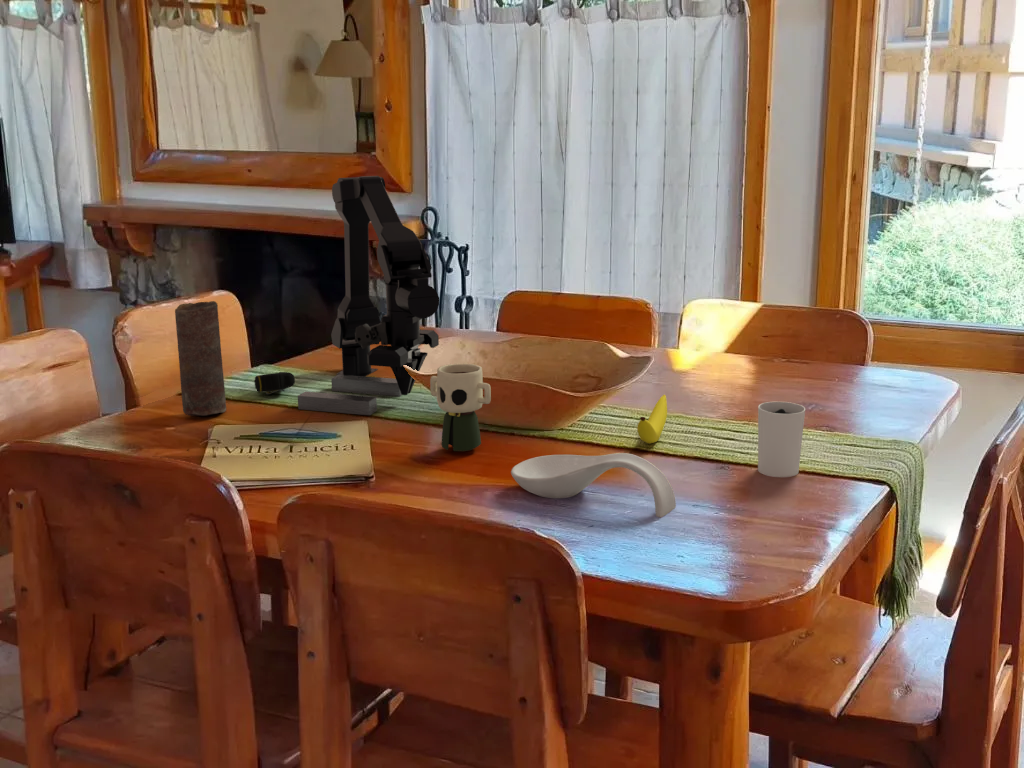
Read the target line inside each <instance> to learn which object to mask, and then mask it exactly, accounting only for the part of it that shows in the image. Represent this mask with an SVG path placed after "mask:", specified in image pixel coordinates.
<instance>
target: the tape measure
mask: <svg viewBox="0 0 1024 768" xmlns="http://www.w3.org/2000/svg"><path fill="white" fill-rule="evenodd" d="M295 378H296V377H295V375H294V374H293V373H292V372H288V371H279V372H273V373H266V374H259V375H255V377H254V382H253V383H254V387H255V390H256V391H257V392H258V393H265V395H271V394H273V393H275V392H279V391H282V392H285V390H286V389H289V388H292V387H293V386H294V385H295V382H296V380H295Z"/></svg>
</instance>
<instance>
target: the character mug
mask: <svg viewBox="0 0 1024 768" xmlns="http://www.w3.org/2000/svg"><path fill="white" fill-rule="evenodd" d="M436 374H437V375H432V376H430V379H429V383H430V384H429V385H430V395H431V396H433V397H436V401H437V405H438V407H439V408H440V410H441V411H443V412H445V414H444V417H443V422H442V432H441V444H440V445H441V447H442V449H445V450H447V451H448V450H449V446H451V447H452V450H453V452H466V451H467V452H468V451H472V450H473V451H474V449H476V448H478V447H479V446H480V445H482V439H481V431H480V425H479V419H478V415H477V413H476V411H478V410H479V409H481V408H482V407H483V404H485V405H488V404H491V400H492V396H491V394H492V393H491V392H492V391H491V390H492V389H491V385H490V384H489V383H487V382H484V381H483V379H484V378H483V376H484V375H483V367H482V366H480V365H477V364H473V363H453V364H451V363H450V364H446V365H445V364H444V365H441V366H439V367H437V373H436ZM483 390H484V391H483ZM483 395H484V396H483Z"/></svg>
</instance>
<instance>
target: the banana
mask: <svg viewBox="0 0 1024 768" xmlns="http://www.w3.org/2000/svg"><path fill="white" fill-rule="evenodd" d="M667 417H668V402H667V396H666V394H662V396H660V398H659V399H658V400H657V401H656V403H655V404H654V407H653V409H652V411H651V413H650V415H649V418H648V419H646V416H640V417H639V419H640V420H639V421H638V423H637V427H636V430H637V434H638V437H639V439H640V440H641V441H642V442H644V443H646V444H649V445H650V444H653V443H656V442H658V441H659V440H660V437H662V433H663V430H664V427H665V425H666V422H667Z"/></svg>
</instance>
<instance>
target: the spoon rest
mask: <svg viewBox="0 0 1024 768" xmlns="http://www.w3.org/2000/svg"><path fill="white" fill-rule="evenodd" d="M614 468H624V469H627V470H631V471H632V472H634V473H636V474H637V475H638V476H640V477H642V478H643V479H644V480H645V482H646V483H647V484H648V486H649V488H650V489H651V492H652V496H653V499H654V510H655V517H657V518H663V517H665V516H666V515H667V514H670V512H672V511H674V510H675V509H676V507H677V505H676V504H677V503H676V496H675V493H674V490H673V487H672V485H671V483H670V481H669V480H668V478H667V476H666V475H665V473H663V472H662V471H661V469H659V468H658V467H657V466H655V465H654V464H653V463H651V462H650V461H648V460H647V459H645V458H643V457H640V456H638V455H635V454H632V453H626V452H618V453H616V452H615V453H609V454H603V455H580V454H578V455H577V454H551V455H550V454H549V455H541V456H536V457H531V458H528V459H526V460H523V461H521V462H519V463H518V464H516V465H514V466H513V467H512V468H511V471H510V474H511V476H512V478H513V479H514V480H515V482H516V483H517V484H518V485H519V486H520V487H521V488H522V489H524V490H525V491H527V492H529V493H532V494H534V495H537V496H539V497H543V498H548V499H565V498H567V499H568V498H571V497H575V496H576V495H578V494H579V493H580V492H582V491H583V490H585V489H586V488H587V487H588V486H590V485H591V484H592V483H593V482H594V481H595V480H597V478H599V477H600V476H601V475H603V474H604V473H605V472H607V471H610V470H611V469H614Z"/></svg>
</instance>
